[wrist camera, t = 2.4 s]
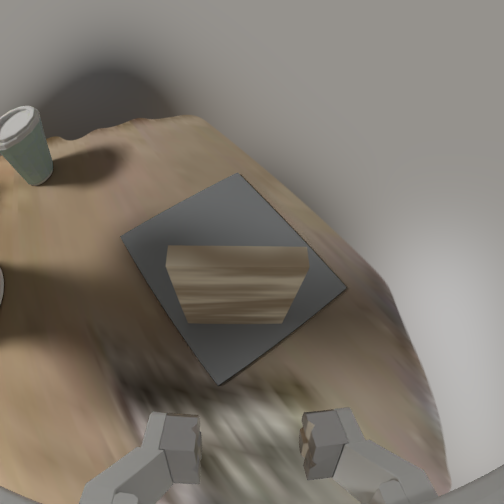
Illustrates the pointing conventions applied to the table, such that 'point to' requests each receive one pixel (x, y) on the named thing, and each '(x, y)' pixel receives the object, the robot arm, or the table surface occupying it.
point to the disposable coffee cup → (25, 144)
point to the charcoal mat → (227, 234)
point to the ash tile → (236, 282)
